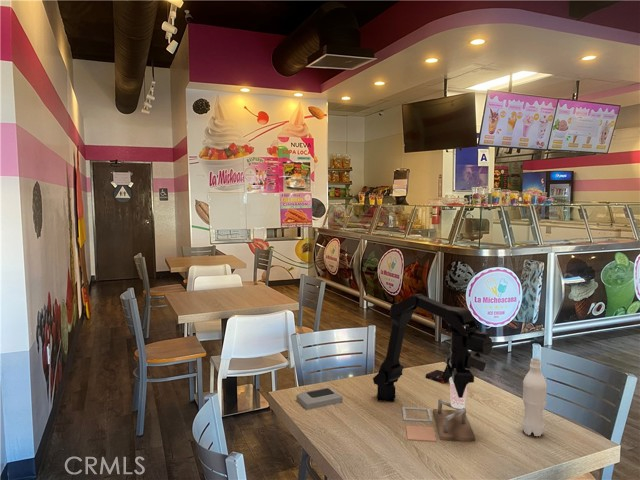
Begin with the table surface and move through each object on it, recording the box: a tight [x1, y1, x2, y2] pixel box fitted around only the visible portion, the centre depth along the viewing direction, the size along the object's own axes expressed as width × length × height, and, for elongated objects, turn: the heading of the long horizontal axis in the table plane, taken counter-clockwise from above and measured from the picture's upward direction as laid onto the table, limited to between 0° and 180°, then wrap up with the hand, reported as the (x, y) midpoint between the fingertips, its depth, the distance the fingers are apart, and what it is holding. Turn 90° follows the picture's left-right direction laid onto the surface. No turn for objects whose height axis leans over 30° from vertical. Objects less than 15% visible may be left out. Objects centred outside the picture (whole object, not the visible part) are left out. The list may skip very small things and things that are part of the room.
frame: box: [401, 406, 434, 423], centre depth 171 cm, size 10×10×1 cm
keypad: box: [296, 386, 344, 411], centre depth 183 cm, size 10×4×15 cm
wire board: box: [432, 398, 477, 443], centre depth 163 cm, size 11×20×6 cm, turn 173°
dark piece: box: [425, 365, 451, 384], centre depth 205 cm, size 9×12×10 cm
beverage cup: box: [448, 377, 468, 409], centre depth 159 cm, size 6×6×14 cm
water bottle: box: [521, 357, 548, 437], centre depth 157 cm, size 7×7×25 cm
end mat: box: [405, 425, 437, 443], centre depth 158 cm, size 9×9×1 cm
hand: (458, 392), depth 160 cm, fingers closed on beverage cup, 7 cm apart
